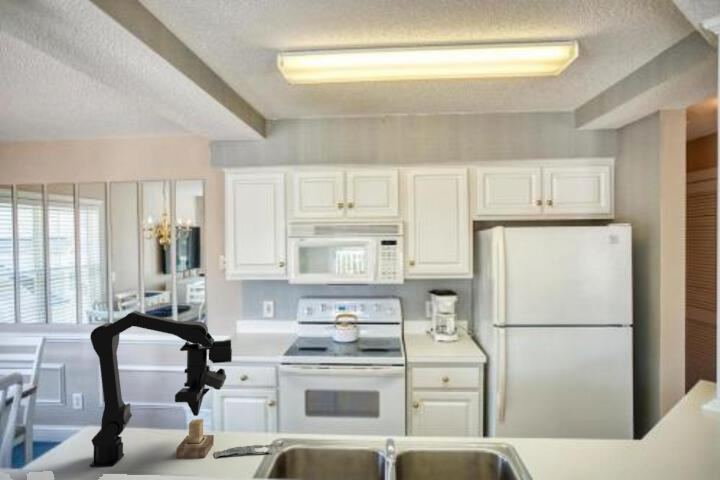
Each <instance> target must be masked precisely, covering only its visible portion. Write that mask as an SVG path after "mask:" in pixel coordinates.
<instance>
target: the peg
mask: <svg viewBox="0 0 720 480" xmlns="http://www.w3.org/2000/svg"><path fill="white" fill-rule="evenodd" d="M188 435H189V443H188V444H201V443H202V442H203V435H204V419H202V418H198V419H192V420H191V421H190V422H188Z"/></svg>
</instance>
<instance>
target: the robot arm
mask: <svg viewBox="0 0 720 480" xmlns="http://www.w3.org/2000/svg"><path fill="white" fill-rule="evenodd" d="M132 327H136V328H142V329H145V330H150V331H156V332H160V333H163V334H169V335H172V336H176V337H177V338H179V339H181V340H183V341H185V342H184V345H182V346H181V347H180V349H179V351H181V352H185V351H186V354H187V355H186V368H184V374H186V382H184V383H183V384H184V385H183V386H184V387H182V388H180V390H179V391H178V392H177V393H175V394H174V402H175V403H186V404H187V405H188V407H189V408H190V411H191V412H192V413H191V414H192V415H193V416H195V417H198V416H199V414H200V411H201V407H202V402H203V399H204V397H205V395H206V394H207V393H208V392H209V391H210V388H213V389H214V390H216V391H218V390H221V389H222V388H223V386H224V384H225V381H226V380H227V374H226V371H225V370H226V369H224V368H221V367H220V368H219V369H218V370H217V371H216V370H211V368H210V365H209V364H207V363H208V361H210V362H212V364H221V363H222V364H223V363H232V361H233V360H232V359H233V348H232V339H225V340H215V339H214V337H213V336H212V335H211V334H210V333H209V329H208V328H209V327H208V325H207V324H206V323H205V322H202V321H195V320H194V321H193V320H190V321H189V320H188V321H187V320H184V321H179V320H175V319H169V318H165V317H161V316H156V315H152V314H147V313H143V312H140V311H137V310H134V311H131V312H129V313H128V314H126V315H125V316H123V317H121V318H120V319H117V320H116V321H114V322H106V323H103V324H101V325H99V326H96V327H95V328H94V329H93V330H92V331H91V333H90V336H89V337H90V338H89V339H90V343H91V345H92V348H93V350H94V351H95V354H96V355H97V356H98V358H99V367H100V375H101V376H100V377H101V384H102V385H101V386H102V387H101V388H102V395H103V403H104V407H103V411H102V417H101V423H100V424H101V425H100V429H99V431H98V432H97V433H96V434H95V435H94V436H93V437H92V439H91V443H92V446H93V461H92V462H91V463H90V464H89V467H112V466H114V465H116V464H117V463H118V461H120V460H121V459H122V458H123V457H124V456H125V453H124V442H123V441H122V436H120V435H121V434H122V433H123V431H124V430H125V429H126V427H127V426H128V424H129V423H130V420H131V418H132V416H133V414H132V413H131V403H127V404H125V402H124V401H123V397H122V396H123V395H122V387H121V381H120V372H119V371H120V370H119V364H118V363H119V362H118V354H117V351H118V347H119V343H120V334H122V333H123V332H125V331H126V330H128V329H130V328H132ZM206 386H207V387H210V388H206Z"/></svg>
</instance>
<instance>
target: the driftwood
mask: <svg viewBox="0 0 720 480" xmlns="http://www.w3.org/2000/svg"><path fill="white" fill-rule="evenodd" d="M264 447H265V448H266V449H267V448H268V449H273V448H275V451H276V453H280V452H282V451H281V450H280V451H279V450H277V449H278V448H283V447H284V441H281V443H279V444H277V443H276V444H274V443H272V444H265V445H260V444H253V445H246V446H235V447H229V448H227V449H224V450H221V451H213V453H214V458H215V459H217V458H218V457H220V456H230V455H234V454H238V456H242V455H245V454H247V453H251V454H256V455H259V454H260V455H263V454H266V453H268V454H269V455H273V454H274V453H273V452H272V451H271V452H270V451H256V450H255V449H261V448H264Z"/></svg>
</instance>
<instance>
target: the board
mask: <svg viewBox="0 0 720 480" xmlns="http://www.w3.org/2000/svg"><path fill="white" fill-rule="evenodd" d="M214 436H215V435H214V434H203V442H202V443H201V444H188V443H189V434H188V435H186V436H185V438H184V439H182V441H181V442H180V444H179V445H178V446H177V447H176V459H195V458H198V459H201V458H200V457H205V458H206V457H207V455H208V454H209V452H210V451H211V449H212V447H213V446H214V441H215V440H214V439H215V438H214Z"/></svg>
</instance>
